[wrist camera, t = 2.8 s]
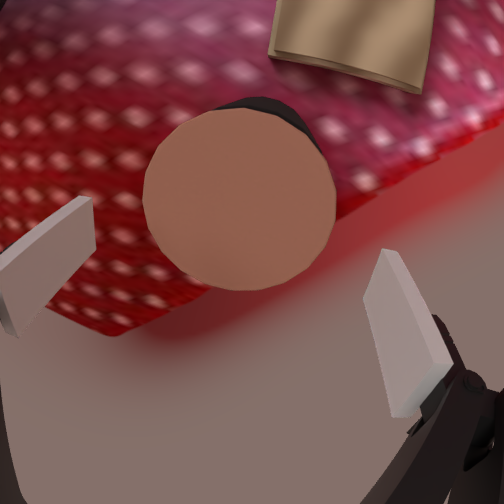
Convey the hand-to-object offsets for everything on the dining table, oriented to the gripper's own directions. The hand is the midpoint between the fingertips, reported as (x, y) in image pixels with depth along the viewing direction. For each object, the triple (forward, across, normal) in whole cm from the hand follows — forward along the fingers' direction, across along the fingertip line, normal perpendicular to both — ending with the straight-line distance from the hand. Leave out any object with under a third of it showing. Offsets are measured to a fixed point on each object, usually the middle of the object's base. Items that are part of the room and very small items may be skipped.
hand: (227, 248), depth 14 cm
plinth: (+22, +7, +17) cm, 29 cm away
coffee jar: (+22, 0, 0) cm, 22 cm away
